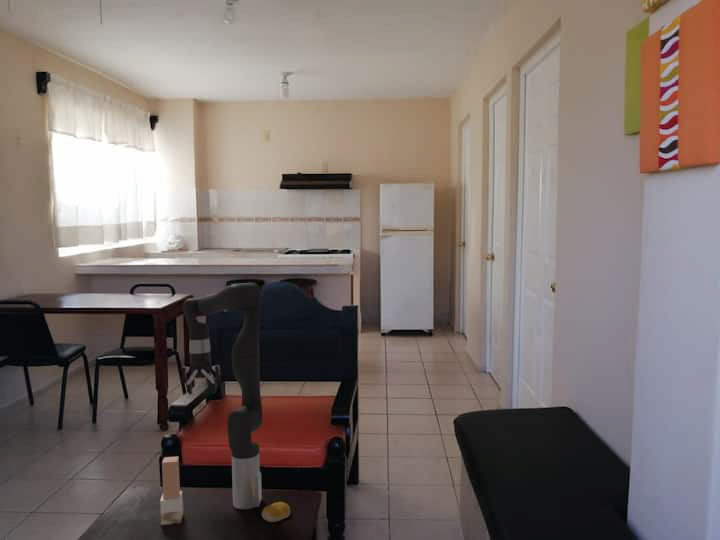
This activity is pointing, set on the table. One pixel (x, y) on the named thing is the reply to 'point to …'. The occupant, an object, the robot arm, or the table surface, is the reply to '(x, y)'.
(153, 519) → the table surface
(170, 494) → the pillar
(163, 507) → the white short block
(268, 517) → the bread roll
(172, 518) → the tower base
